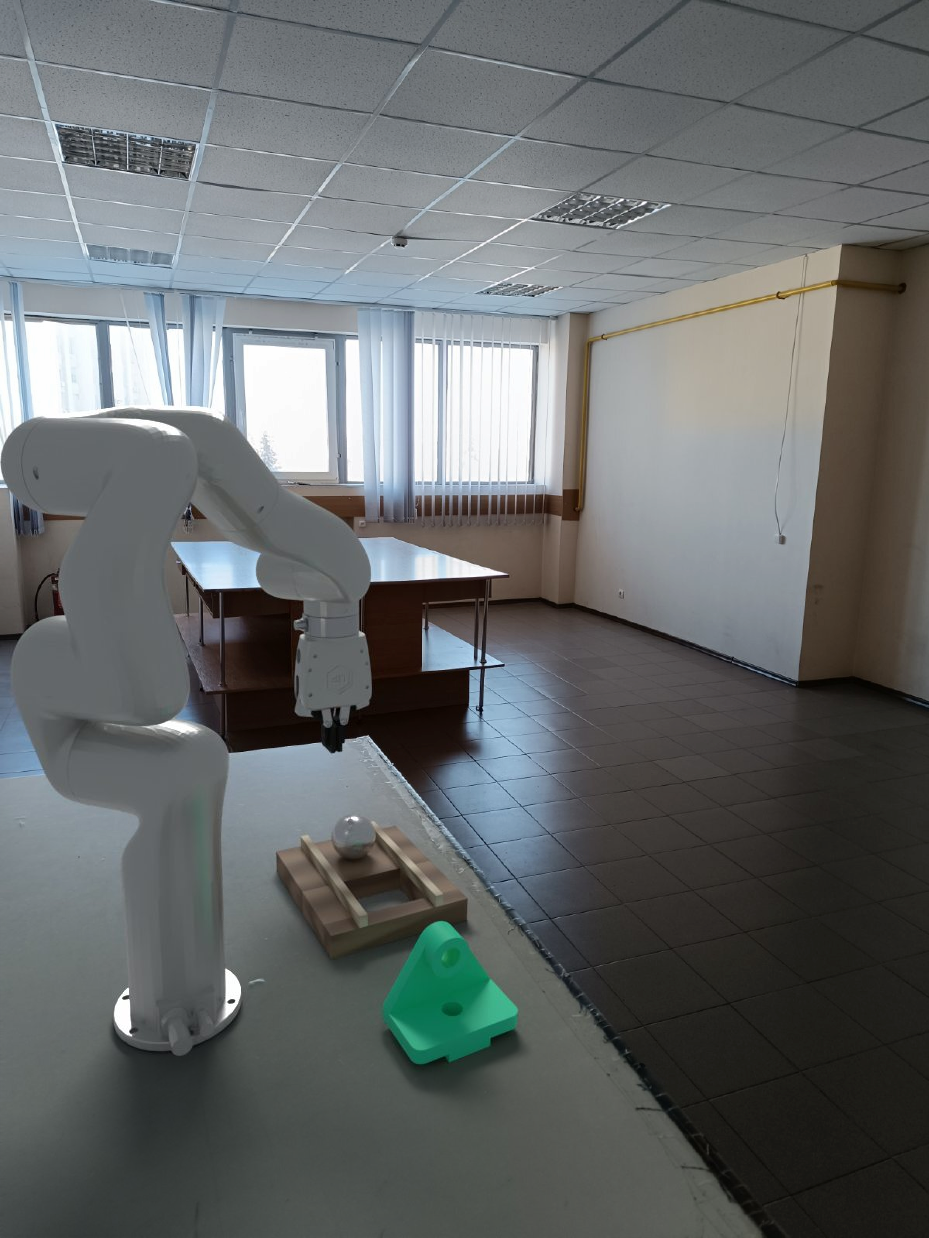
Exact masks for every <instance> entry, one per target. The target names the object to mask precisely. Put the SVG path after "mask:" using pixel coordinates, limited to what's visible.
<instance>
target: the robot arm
mask: <svg viewBox="0 0 929 1238" xmlns="http://www.w3.org/2000/svg"><path fill="white" fill-rule="evenodd" d="M0 471H1V475H2V480H3V481H4V483H5V486H6V487H7V489H8V491H9V492H10V493H11V495H13V496H14V498H15V499H16V500H18V502H20V503H21V504H22V505H24V506H26V507H27V508H29V509H31V510H33V511H36V512H38V513H42V514H47V515H56V516H70V517H71V516H72V517H84V520H83V522H82V523H81V525H80V527H79V529H78V530H77V532H76V534H75V535H74V537H73V538H72V541H70V542H71V543H70V544H69V546H68V548H67V550H66V551H65V554H64V556H63V558H62V561H61V563H60V567H59V572H58V583H57V584H58V588H57V589H58V593H59V599H60V603H61V606H62V610H63V612H64V615H55V616H50V617H46V618H43V619H41V620H39V621H37V622H35V623H34V624H32V625H31V626H29V627H28V629H26V630H25V631H24V632H23V634H22V635H21V636H20V638H19V640H18V642H17V643H16V645H15V647H14V650H13V654H12V658H11V662H10V676H9V677H10V687H11V692H12V697H13V698H14V702H15V705H16V707H17V710H18V712H19V715H20V718H21V720H22V723H23V726H24V728H25V730H26V732H27V734H28V737H29V739H30V742H31V744H32V747H33V749H34V752H35V753H36V754H35V755H36V756H37V759H38V762H39V763H40V767H41V768H42V770H43V773H44V775H45V777H46V778H47V781H48V782H49V783H50V785H51V787H52V788H53V790H54V791H55V792H57V793H58V794H59V795H60V796H62V797H63V798H65V799H66V800H69V801H70V802H74V803H76V804H77V803H78V804H82V805H86V806H92V807H97V808H101V809H108V810H113V811H119V812H122V813H124V814H125V813H126V814H130V815H133V816H135V817H137V819H138V827H137V829H136V830H135V832H134V833H133V835H131V837H130V838H129V840H128V841H127V843H126V845H125V847H124V849H123V851H122V855H121V858H120V882H121V889H122V891H121V892H122V893H121V894H122V905H123V906H122V907H123V922H124V924H123V925H124V938H125V941H124V942H125V952H126V954H125V956H126V970H127V984H128V987H127V988H126V989H125V990H124V991H123V992H122V993H121V995H120V996H119V997H118V999H117V1000H116V1002H115V1005H114V1009H113V1013H112V1017H113V1027H114V1030H115V1032H116V1034H117V1036H118V1037H119V1038H120V1039H121V1040H122V1041H123V1042H125V1043H126V1044H128V1045H129V1046H131V1047H134V1048H136V1049H140V1050H145V1051H149V1052H168V1051H169V1052H170V1051H171V1052H172V1053H173V1055H175V1056H178V1057H181V1056H184V1055H186V1054H188V1053H189V1052H190V1051H191V1050H192V1048H193V1047H194V1046H195V1045H199V1044H201V1043H203V1042H205V1041H207V1040H209V1039H211V1038H212V1037H214V1036H216V1035H218V1034H219V1033H220V1032H222V1031H223V1030H224V1029H225V1028H226V1027H228V1026H229V1025H230V1024H231V1022H232V1021H233V1020H234V1019H235V1018H236V1016H237V1015H238V1013H239V1011H240V1008H241V1006H242V1001H243V996H242V991H243V990H242V986H241V982H240V980H239V979H238V978H237V975H235V974H234V973H233V972H231V971H230V970H228V969H227V967H226V966H227V965H226V964H227V963H226V943H225V942H226V941H225V940H226V939H225V938H226V937H225V915H224V914H225V913H224V911H225V910H224V909H225V908H224V907H225V906H224V885H223V884H224V883H223V878H224V877H223V859H222V857H223V856H222V824H223V822H222V821H223V811H224V804H225V803H224V802H225V798H226V797H225V796H226V791H227V790H226V789H227V784H228V779H229V771H230V754H229V750H228V747H227V745H226V743H225V742H224V740H223V738H222V737H221V736H220V735H219V734H218V733H217V732H216V731H214V730H213V729H211V728H209V727H207V726H205V725H204V724H200V723H197V722H195V721H190V720H188V719H187V720H186V719H182V718H181V719H180V718H176V717H178V716H179V715H180V713H181V712H182V711H183V710H184V709H185V707H186V705H187V704H188V701H189V696H190V693H191V682H190V678H191V677H190V673H189V667H188V663H187V659H186V656H185V651H184V648H183V645H182V641H181V637H180V633H179V630H178V625H177V622H176V618H175V614H174V609H173V608H172V606H173V605H172V603H171V599H170V595H169V590H168V586H167V585H168V584H167V580H166V579H167V578H166V564H167V563H166V562H167V556H168V552H169V549H170V546H171V544H172V540H173V538H174V535H175V533H176V531H177V529H178V527H179V525H180V522H181V519H182V518H183V516H184V514H185V512H186V510H187V508H188V506H189V504H190V503H191V504H192V505H193V506H194V507H195V509H197V510H198V511H199V512H200V513H201V514H202V515H203V516H204V517H205V518H206V519H207V521H208V522H210V523H211V525H212V526H214V528H215V529H216V530H217V531H218V532H219V533H220V534H221V535H222V536H223V537H224V538H225V539H226V540H227V541H229V542H231V543H233V544H235V545H236V546H239V547H242V548H244V549H248V550H250V551H252V552H256V553H258V554H259V556H258V557H257V561H256V564H255V576H256V577H255V578H256V581H257V582H258V585H259V586H260V588H261V589H262V590H263V591H264V592H265V593H267V594H268V595H271V596H273V597H275V598H279V599H283V600H284V599H285V600H294V601H303V612H302V615H301V616H302V617H301V618H300V619H297V620H294V621H293V628H294V630H295V631H299V630H300V631H302V632H303V633H302V634H300V635H299V640H298V644H297V648H296V656H295V658H296V659H295V669H294V697H295V699H296V702H295V703H296V704H295V707H294V712H295V713H296V715H297V716H298V717H309V718H310V717H311V718H314V719H315V720H317V721H318V722H319V723H320V726H321V727H320V732H321V733H320V734H321V735H320V737H321V738H320V739H321V745H322V746H323V747H324V749H326V750H327V751H328V752H329V753H330V754H336V752H338V753H342V752H343V744H345V742H346V725H347V724H348V722H349V719H350V718H351V716H353V715H354V713H355V712H356V711H357V710H360V709H363V708H365V707H368V706H369V705H370V700H371V698H372V695H373V694H372V693H373V692H372V690H373V689H372V687H373V686H372V682H373V681H372V671H371V661H370V655H369V647H368V642H367V637H366V634H365V633H364V632H362V631H360V600H361V599H362V598H363V597H364V596H365V595H366V594H367V592H368V590H369V587H370V585H371V579H372V567H371V561H370V558H369V556H368V553H367V551H366V549H365V547H364V545H363V544H362V542H361V540H360V539H359V537H358V536H357V535H356V532H354V530H353V529H352V528H351V527H350V526H349V524H347V522H345V520H343V519H342V518H340V516H337V515H336V514H334V513H333V512H331V511H329V510H327V509H325V508H324V507H322V506H320V505H319V504H316V503H314V502H312V501H311V500H309V499H307V498H306V497H304V496H302V495H300V494H298V493H297V492H294V491H292V490H290V489H287V488H286V487H284V486H283V485H282V484H281V482H280V481H278V479H277V478H276V476H275V475H274V474H273V472H272V471H271V470H270V469H269V467H268V466H267V464H266V463H265V462H264V460H263V459H262V458H261V456H259V454H258V452H257V451H256V450H255V449H254V447H253V446H252V445H251V444H250V441H248V439H247V438H246V436H244V434H243V433H242V432H241V430H240V429H239V427H238V426H237V425H236V424H235V423H234V421H232V420H231V418H229V417H228V416H227V415H225V414H224V413H222V412H221V411H218V410H215V409H213V408H210V407H209V408H208V407H206V406H204V407H203V406H195V405H194V406H193V405H192V406H191V405H189V406H188V405H145V404H144V405H143V404H141V405H124V406H117V407H116V406H115V407H110V408H102V409H95V410H87V411H79V412H77V411H76V412H70V413H69V412H67V413H61V414H52V415H51V414H50V415H44V416H43V415H41V416H36V417H33V418H30V419H27V420H26V421H24V422H22V423H20V424H19V425H18V426H16V427H15V428H14V429H13V430H12V431H11V432H10V434H9V435H8V436H7V438H6V440H5V441H4V444H3V446H2V449H1V453H0ZM331 709H334V711H333V716H332V712H331Z"/></svg>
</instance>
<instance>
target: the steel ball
mask: <svg viewBox="0 0 929 1238" xmlns="http://www.w3.org/2000/svg"><path fill="white" fill-rule="evenodd" d="M330 838H331V839H330V840H331V841H332V845H333V848H334V849H335V851H336V852H337V853H338V854H339V855H340V856H342V857H343V858H346V859H350V860H355V859H360V858H362V857H364V856H366V855H367V854H368V853H369V852H370V851H371V849H372V848H373V846H374V843H375V838H376V833H375V829H374V826H373V825H372V823H371V821H370V819H368V818H367V817H366V816H365V815H363V814H357V813H352V814H350V813H349V814H347V815H345V816H343V817H341V818H340V819H338V821H336V823H334V826H333V828H332V830H331V837H330Z"/></svg>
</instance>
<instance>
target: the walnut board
mask: <svg viewBox="0 0 929 1238" xmlns="http://www.w3.org/2000/svg"><path fill="white" fill-rule="evenodd" d="M370 822H371V823H372V825H373V826H374V829H375V833H376V838H375V843H374V846H373V848H372V849H371V851H370V852H369V853H368V854H367V855H366V856H364V857H362V858H360V859H355V860H350V859H346V858H343V857H342V856H340V855H339V854H338V853H337V852H336V851H335V849H334V848H333V845H332V841H331V839H328V840H324V841H318V842H315V843H314V841H313V840H312V838H311V837H310V836H309V834H305V835H301V836H300V846H295V847H292V848H286V849H282V850H277V851H276V852H275V854H276V855H275V858H276V873H277V874H278V876H279V877H280V879H281V881H282V883H283V884H284V886H285V887H286V889H287V891H289V893H290V895H291V897H292V899H293V900H294V902H295V903H296V905H297V906H298V908H299V910H300V912H301V913H302V915H303V917H304V918H305V919H306V921H307V923H308V925H310V927H311V929H312V931H313V932H314V935H316V937H317V939H318V940H319V942H320V943H321V945H322V947H323V949H324V950H325V952H326V953H327V954H328V957H329V958H330V959H331V960H333V959H336V958H340V957H344V956H347V955H348V956H349V955H351V954H354V953H357V952H361V951H364V950H368V949H371V948H375V947H378V946H381V945H385V944H388V943H392V942H395V941H398V940H399V941H400V940H402V939H405V938H406V939H407V938H410V937H413V936H416V935H421V934H422V932H423V931H424V930H425V929H426V928H427V927H428V926H429V925H431V924H432V923H435V922H438V921H444V922H447V923H449V924H450V925H451V926H452V925H454V924H457V923H461V922H464V921H467V920H468V903H469V902H468V901H469V900H468V899H469V898H468V897H467V896H466V895H465V894H464V893H463V892H462V891H461V890H460V889H459V888H458V887H457V886H456V885H455V884H454V883H453V882H452V881H451V880H450V879H449V878H448V877H447V876H446V875H445V874H444V873H443V872H442V870H440V869H439V868H438V867H437V866H436V865H435V864H434V863H433V862H432V861H431V860H430V859H429V858H428V857H427V856H426V855H425V854H424V853H423V852H422V851H421V850H420V849H419V848H418V847H417V845H415V844H414V843H413V842H412V841H411V840H410V839H409V838H408V837H407V836H406V834H404V832H403V831H402V830H400V829H399V828H398V826H396V825H394V826H389V827H383V828H381V827H380V826H379V825H378V824H377V823H376V822H375V821H374V820H373V821H370ZM398 889H400V890H401V891H402V892H403V894H404V895H405V896H406V897H407V898H408V899H409V901H407V902H404V903H400V904H396V905H393V906H388V907H385V908H382V909H378V910H374V911H370V912H366V911H365V909H364V908H363V906H362V905H361V903H360V902H359V901H358V900H359V899H363V898H364V899H365V898H367V897H372V896H375V895H379V894H382V893H386V892H387V893H388V892H392V891H394V890H395V891H396V890H398Z"/></svg>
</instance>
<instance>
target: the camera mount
mask: <svg viewBox="0 0 929 1238" xmlns="http://www.w3.org/2000/svg"><path fill="white" fill-rule="evenodd" d="M510 999H511V998H509V997H508V996H507V995H506V994H505V993H504V992H503V990H502V989H501V988H500V987H499V986H498V985H497V983H495V981H493V980H492V979H491V978H490V976H489V974H488V973H487V971H486V970H485V969H484V968H483V966H482V964H481V963H480V962H479V960H478V959H477V958H476V956H475V955H474V953H473V952H472V950H471V949H470V945H469V944H468V942H467V941H466V940H465V939H464V937H463V936H462V935H461V934H460V932H458V931H457V930H456V929H455V928H454V926H452V924H451V925H450V924H449V923H447V922H444V921H438V922H435V923H432V924H431V925H429V926H428V927H427V928H426V929H425V930H424V931H423V932H422V933H420V934H419V936H418V939H417V941H416V943H415V944H414V947H413V948H412V950H411V952H410V954H409V955H408V957H407V960H406V961H405V962H404V965H403V966H402V968H401V970H400V972H399V974H398V975H397V977H396V980H395V981H394V983H393V985H392V987H391V989H390V991H389V992H388V994H387V996H386V998H385V999H384V1001H383V1003H382V1019H383V1021H384V1022H385V1024H386V1025H387V1027H388V1028H389V1031H391V1033H392V1034H393V1035H394V1037H395V1039H396V1040H397V1041H398V1043H399V1045H400V1046H401V1048H402V1049H403V1051H404V1052H405V1053H406V1055H407V1056H408V1058H409V1059H410V1061H412V1063H414V1064H415V1065H425V1064H428V1063H430V1062H433V1061H436V1060H438V1059H440V1058H443V1057H445V1059H446V1060H447V1062H448V1063H451V1062H453V1061H456V1060H458V1059H460V1058H463V1057H466V1056H468V1055H471V1054H474V1053H476V1052H479V1051H481V1050H483V1049H486V1048H488V1047H491V1038H494V1037H497V1036H499V1035H502V1034H505V1033H507V1032H509V1031H512V1030H515V1028H517V1025H518V1017H519V1016H518V1013H519V1009H518V1007H517V1006H516V1004H515V1003H513V1001H512V1000H510Z"/></svg>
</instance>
